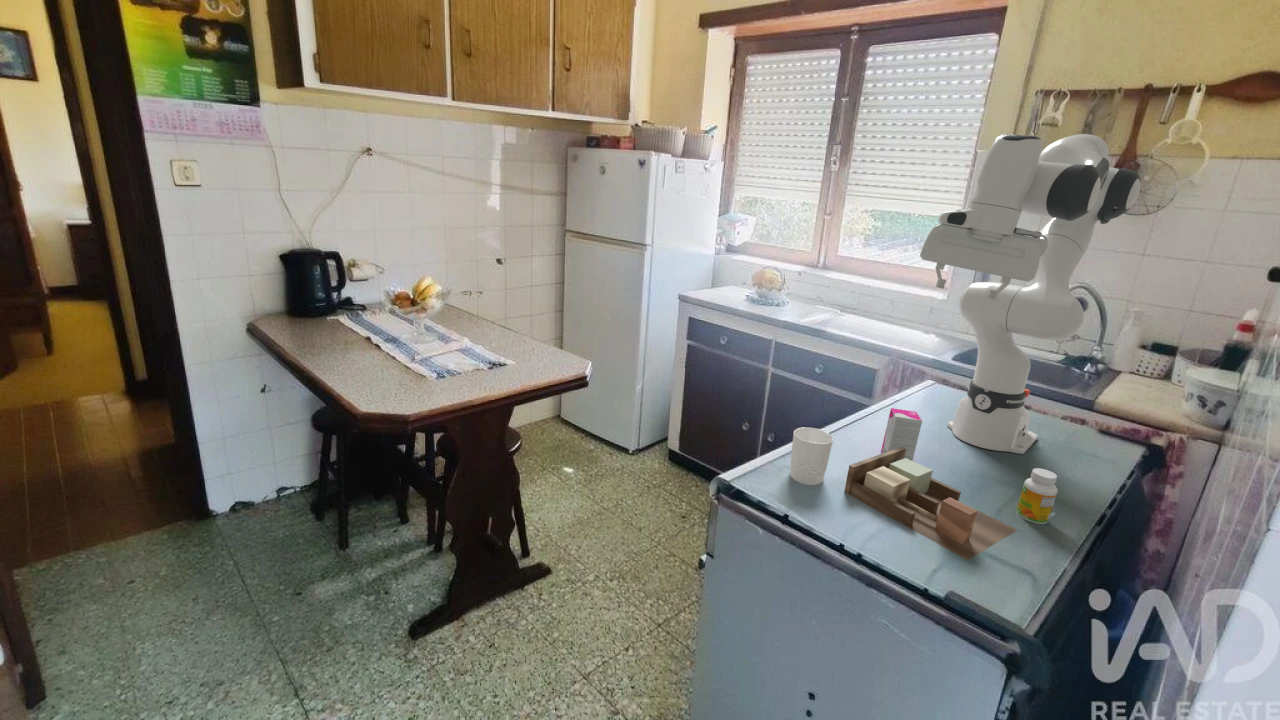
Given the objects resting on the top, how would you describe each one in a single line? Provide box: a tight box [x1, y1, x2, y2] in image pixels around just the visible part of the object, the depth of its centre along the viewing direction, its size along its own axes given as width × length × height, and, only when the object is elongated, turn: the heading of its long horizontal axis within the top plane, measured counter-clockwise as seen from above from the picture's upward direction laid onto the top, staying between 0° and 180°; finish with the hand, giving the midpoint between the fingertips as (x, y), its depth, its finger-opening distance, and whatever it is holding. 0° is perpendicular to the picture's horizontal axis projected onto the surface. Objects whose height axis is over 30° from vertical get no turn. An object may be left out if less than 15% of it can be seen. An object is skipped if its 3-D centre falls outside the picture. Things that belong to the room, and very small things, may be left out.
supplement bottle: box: [1015, 467, 1058, 525], centre depth 114 cm, size 5×5×10 cm
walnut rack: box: [843, 447, 1018, 561], centre depth 114 cm, size 18×25×6 cm
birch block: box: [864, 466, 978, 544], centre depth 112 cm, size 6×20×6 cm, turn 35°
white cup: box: [789, 426, 834, 486], centre depth 123 cm, size 8×8×10 cm
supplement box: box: [880, 407, 923, 461], centre depth 134 cm, size 6×6×12 cm
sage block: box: [889, 458, 934, 494], centre depth 121 cm, size 6×6×5 cm
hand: (965, 293), depth 117 cm, fingers open, 8 cm apart
